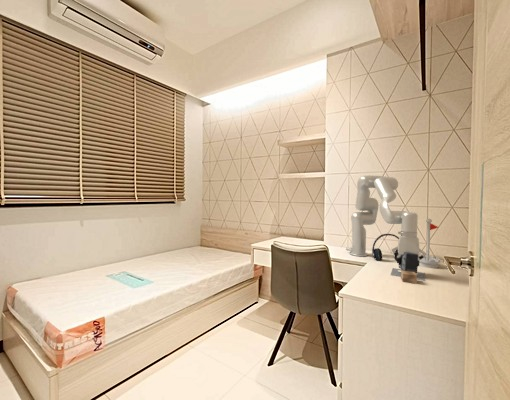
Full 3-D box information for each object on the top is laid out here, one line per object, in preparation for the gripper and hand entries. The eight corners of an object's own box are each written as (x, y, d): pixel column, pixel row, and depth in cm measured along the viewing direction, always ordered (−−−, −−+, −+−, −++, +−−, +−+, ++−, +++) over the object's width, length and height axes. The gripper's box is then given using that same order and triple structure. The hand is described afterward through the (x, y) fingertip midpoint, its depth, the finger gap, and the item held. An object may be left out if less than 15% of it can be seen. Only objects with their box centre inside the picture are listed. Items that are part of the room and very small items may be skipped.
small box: (418, 273, 134) (419, 254, 134) (404, 272, 136) (405, 253, 135) (410, 268, 145) (411, 249, 144) (398, 267, 146) (398, 249, 146)
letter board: (390, 276, 138) (390, 275, 138) (392, 269, 151) (392, 267, 151) (425, 282, 129) (425, 281, 129) (424, 273, 143) (424, 272, 143)
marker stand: (415, 266, 158) (416, 218, 157) (415, 261, 169) (416, 217, 168) (440, 269, 151) (442, 220, 150) (439, 264, 162) (441, 218, 161)
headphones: (374, 261, 168) (374, 234, 168) (371, 258, 175) (371, 232, 175) (406, 263, 165) (407, 235, 165) (401, 260, 172) (402, 233, 171)
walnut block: (402, 283, 127) (403, 273, 127) (401, 279, 133) (401, 270, 133) (416, 285, 125) (416, 275, 125) (414, 281, 131) (414, 271, 130)
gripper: (390, 233, 141) (389, 264, 142) (428, 237, 132) (427, 270, 132) (391, 232, 147) (390, 261, 148) (427, 235, 138) (426, 266, 138)
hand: (407, 265), depth 140 cm, fingers closed on small box, 7 cm apart
